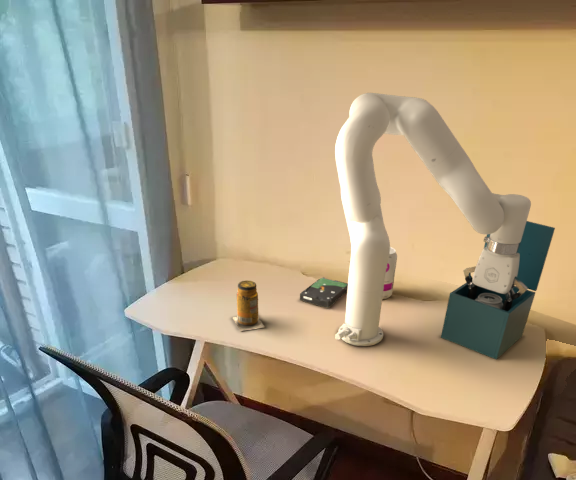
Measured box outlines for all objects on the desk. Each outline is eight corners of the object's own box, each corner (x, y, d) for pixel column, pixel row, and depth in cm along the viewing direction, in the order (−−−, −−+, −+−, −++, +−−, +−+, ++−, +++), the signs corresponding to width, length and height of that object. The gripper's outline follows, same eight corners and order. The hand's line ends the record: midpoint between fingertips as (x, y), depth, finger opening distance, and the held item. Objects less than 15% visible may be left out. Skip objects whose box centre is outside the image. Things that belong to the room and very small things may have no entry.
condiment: (256, 314, 162) (255, 277, 155) (264, 327, 156) (264, 289, 149) (232, 318, 160) (230, 280, 153) (240, 331, 154) (238, 293, 147)
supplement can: (385, 302, 170) (391, 257, 161) (361, 296, 173) (366, 251, 165) (395, 293, 175) (402, 248, 167) (372, 286, 179) (377, 243, 170)
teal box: (496, 359, 144) (509, 313, 136) (440, 337, 153) (449, 293, 145) (522, 336, 154) (535, 292, 146) (468, 317, 163) (478, 274, 155)
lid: (554, 228, 135) (564, 221, 139) (491, 213, 144) (502, 206, 148) (535, 291, 145) (545, 282, 149) (478, 273, 154) (488, 265, 158)
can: (493, 330, 155) (503, 292, 148) (495, 344, 149) (506, 305, 142) (466, 327, 156) (475, 289, 149) (467, 341, 150) (477, 302, 143)
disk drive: (328, 309, 166) (349, 291, 176) (329, 301, 164) (349, 283, 174) (299, 301, 170) (320, 283, 180) (299, 293, 168) (321, 275, 179)
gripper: (465, 241, 139) (451, 300, 149) (530, 259, 130) (512, 322, 140) (478, 233, 144) (464, 292, 154) (542, 251, 135) (524, 312, 145)
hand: (487, 306), depth 147 cm, fingers open, 9 cm apart
